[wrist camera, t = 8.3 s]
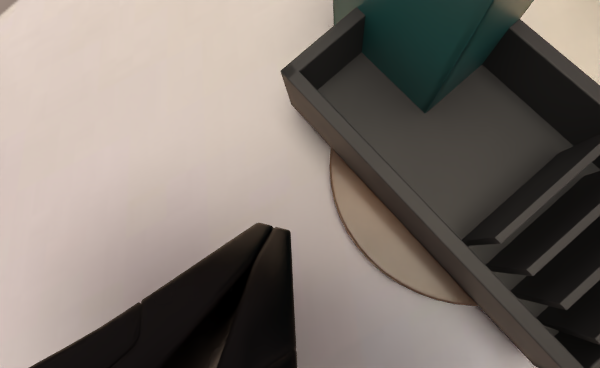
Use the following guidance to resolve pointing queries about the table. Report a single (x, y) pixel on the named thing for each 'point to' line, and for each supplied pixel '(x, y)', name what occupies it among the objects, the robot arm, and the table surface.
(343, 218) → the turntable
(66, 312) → the table surface
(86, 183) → the table surface
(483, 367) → the table surface
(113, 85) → the table surface
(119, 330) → the robot arm
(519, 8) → the dish rack
